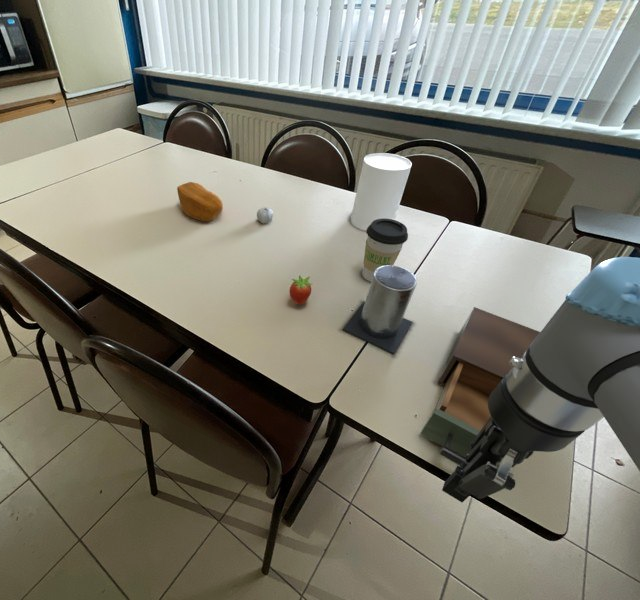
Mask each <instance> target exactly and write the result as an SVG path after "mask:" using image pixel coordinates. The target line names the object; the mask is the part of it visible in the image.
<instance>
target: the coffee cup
mask: <svg viewBox="0 0 640 600" xmlns="http://www.w3.org/2000/svg"><path fill="white" fill-rule="evenodd" d="M365 232H366V235H367V236H366V240H365V246H364V253H363V254H364V255H363V263H362V264H363V266H362V273H361V275H362V277H363V279H365V280H366V281H367V282H370V283H371V281H372V278H373V274H374V271H375V270H376V269H377V268H379V267H381V266H386V265H393V266H395V263H396V261H397V259H398V257H399V255H400V253H401V251H402V249H403V245H404V243H406V242H407V241H408V239H409V233H408V228H407V226H406V225H405V224H404V223H402V222H401V221H399V220H396V219H395V220H392V219H377V220H374V221H373V222H372V223H371V225H369V226H368V228H367V231H365Z"/></svg>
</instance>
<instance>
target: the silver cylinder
mask: <svg viewBox="0 0 640 600" xmlns="http://www.w3.org/2000/svg"><path fill="white" fill-rule="evenodd" d="M417 285H418V279H417V276H416V275H415V274H414V273H413V272H412V271H410V270H409V269H406V268H404V267H402V266H399V265H398V266H397V265H386V266H381V267H379V268H377V269H376V270H375V271H374V274H373V278H372V281H371V282H370V284H369V288H368V291H367V294H366V297H365V304H364V307H363V311H362V314H361V317H360V321H359V323H360V326H361V328H362V329H363V330H364V331H365V332H366V333H367V334H369V335H371V336H373V337H376V338H381V339H386V338H391V337H393V336H394V335H395V334H396V333H397V331H398V329H399V326H400V324H401V321H402V319H403V318H405V317H404V316H405V314H406V312H407V309H408V306H409V304H410V302H411V299H412V298H413V295H414V292H415V290H416V287H417Z"/></svg>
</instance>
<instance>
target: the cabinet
mask: <svg viewBox="0 0 640 600" xmlns="http://www.w3.org/2000/svg"><path fill="white" fill-rule="evenodd" d="M540 332H541V331H539V330H537V329H533V328H531V327H528V326H526V325H523V324H521V323H518V322H515V321H512V320H510V319H507V318H504V317H502V316H500V315H496V314H494V313H491V312H489V311H487V310H483V309H481V308H478V307H475V306H474V307H473V308H472V309H471V311H470V313H469V314H468V317H467V318H466V320H465V322H464V323H463V325H462V327H461V329H460V330H459V332H458V334H457V336H456V339H455V341H454V344H453V346H452V347H451V350H450V353H449V354H448V357H447V360H446V362H445V364H444V366H443V369H442V372H441V373H440V375H439V377H438V380H437V382H436V383H437V384H438V385H440V386H442V387H443V388H444V387H445V385H446V382H447V380H448V377H449V376H450V374H451V372H452V371H453V369H454V368H455V366H456V364H457V363H458V361H460V362H462V363H464V364H466V365H469V366H471V367H473V368H475V369H478V370H480V371H482V372H484V373H487V374H489V375H491V376H493V377H495V378H498V379H500V380H502V379H503V378H504V377H505V376H507V375H508V373H509V372H510V370H511V369H512V368H513V366H511V365H510V363H509V361H510V360H511V358H512V357H517V358H520V359H521V358H522V357H523V355H524V353H525V351H526V350H527V349H528V347H529V346H530V345H531V344H532V342H533V341H534V340H535V338H536V337H537V336H538V335H539V333H540Z"/></svg>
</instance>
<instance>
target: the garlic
mask: <svg viewBox="0 0 640 600" xmlns="http://www.w3.org/2000/svg"><path fill="white" fill-rule="evenodd" d="M273 218H274V211H273V210H272V209H271V208H269V207H264V206H263V207H260V208H259V209H258V210H257V212H256V219H257V220H258V221H259V222H260V223H262V224H267V223H270V222H271V221H272V220H273Z"/></svg>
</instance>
